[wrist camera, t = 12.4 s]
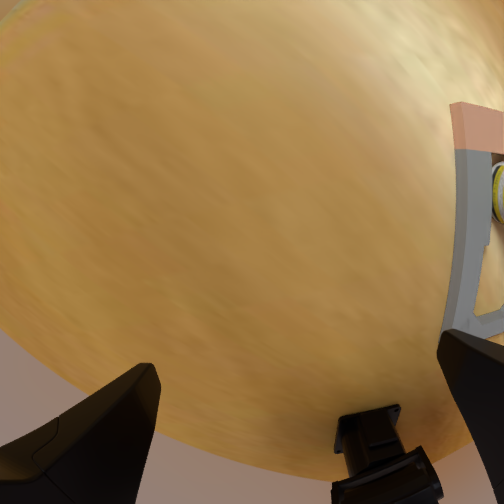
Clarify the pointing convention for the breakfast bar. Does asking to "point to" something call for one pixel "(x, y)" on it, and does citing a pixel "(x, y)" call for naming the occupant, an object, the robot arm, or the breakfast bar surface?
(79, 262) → the breakfast bar surface
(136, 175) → the breakfast bar surface
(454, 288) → the keyhole board
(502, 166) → the supplement bottle
